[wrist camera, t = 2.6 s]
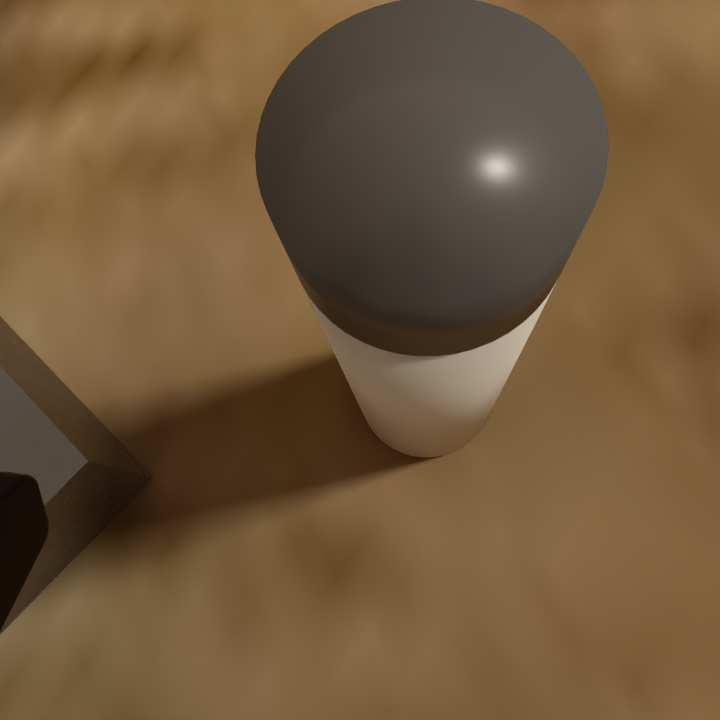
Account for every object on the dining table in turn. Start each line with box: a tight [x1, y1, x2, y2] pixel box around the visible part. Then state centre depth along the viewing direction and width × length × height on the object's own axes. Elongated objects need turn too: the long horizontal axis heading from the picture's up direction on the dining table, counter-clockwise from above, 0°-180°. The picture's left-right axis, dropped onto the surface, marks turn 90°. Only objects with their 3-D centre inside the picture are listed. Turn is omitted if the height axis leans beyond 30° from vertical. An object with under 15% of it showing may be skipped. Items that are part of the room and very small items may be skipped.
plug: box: [255, 0, 609, 458], centre depth 14 cm, size 4×4×13 cm
